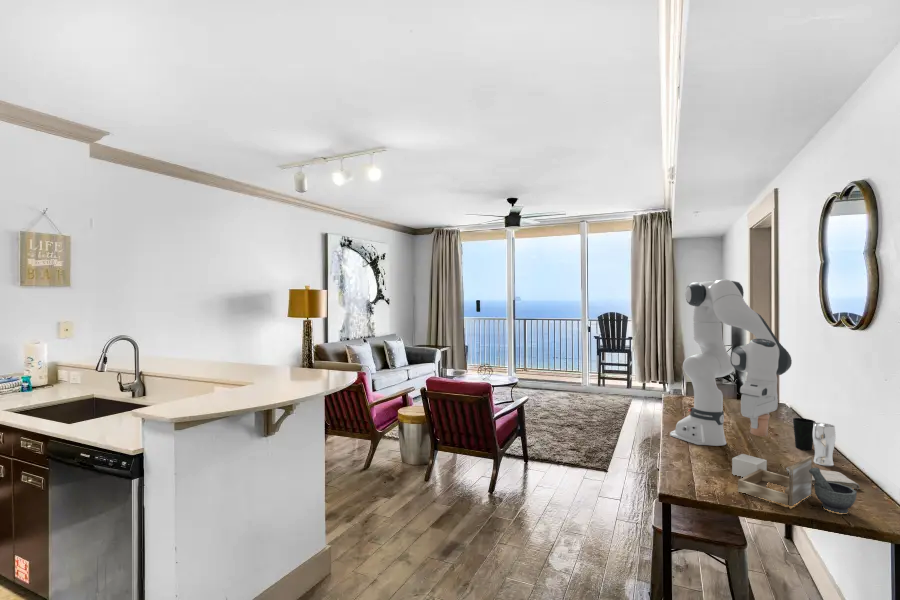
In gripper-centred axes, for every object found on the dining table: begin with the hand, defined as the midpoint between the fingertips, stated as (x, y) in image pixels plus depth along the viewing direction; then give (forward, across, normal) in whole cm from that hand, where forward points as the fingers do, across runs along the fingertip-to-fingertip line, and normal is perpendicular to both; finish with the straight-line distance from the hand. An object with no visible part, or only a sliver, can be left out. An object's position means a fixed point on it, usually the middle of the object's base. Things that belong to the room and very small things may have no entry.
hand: (758, 426), depth 159 cm
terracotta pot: (+3, 0, 0) cm, 3 cm away
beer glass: (+20, -42, +7) cm, 47 cm away
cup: (+20, -57, -4) cm, 61 cm away
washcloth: (+20, -21, +12) cm, 31 cm away
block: (+20, -4, -4) cm, 21 cm away
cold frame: (+19, +6, +7) cm, 21 cm away
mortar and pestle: (+19, +4, +22) cm, 29 cm away
